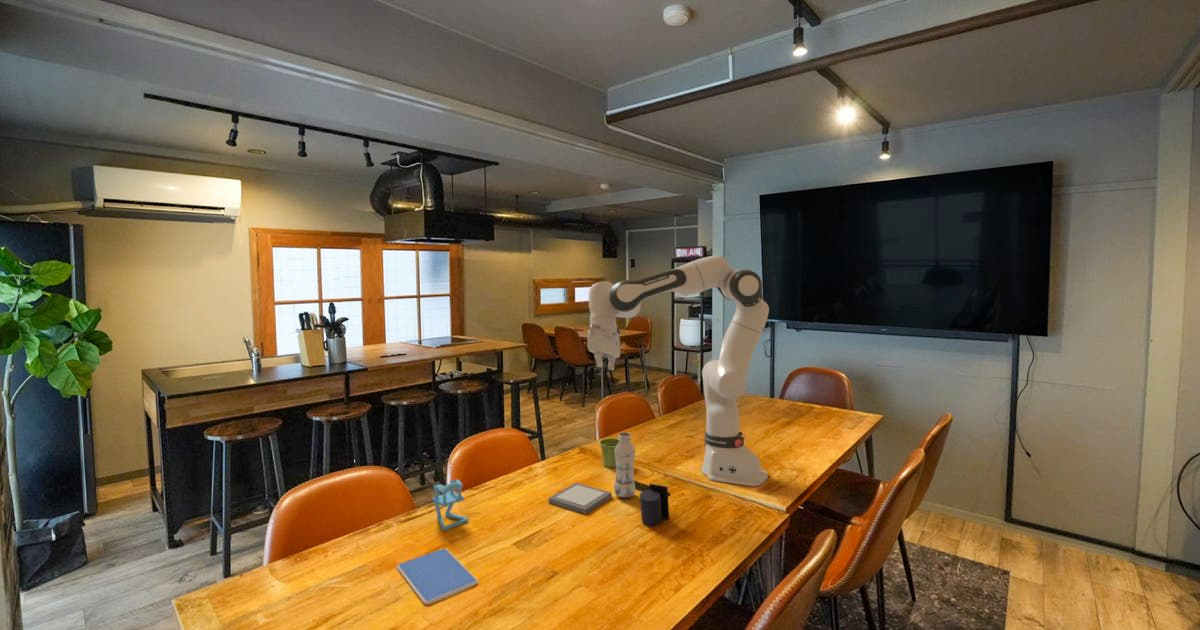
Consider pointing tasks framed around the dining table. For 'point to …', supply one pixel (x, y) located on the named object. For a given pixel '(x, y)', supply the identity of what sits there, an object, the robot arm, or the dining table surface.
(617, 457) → the plastic bottle
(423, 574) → the tablet computer
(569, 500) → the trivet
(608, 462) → the plant pot
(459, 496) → the chair
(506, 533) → the dining table surface
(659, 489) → the speaker
